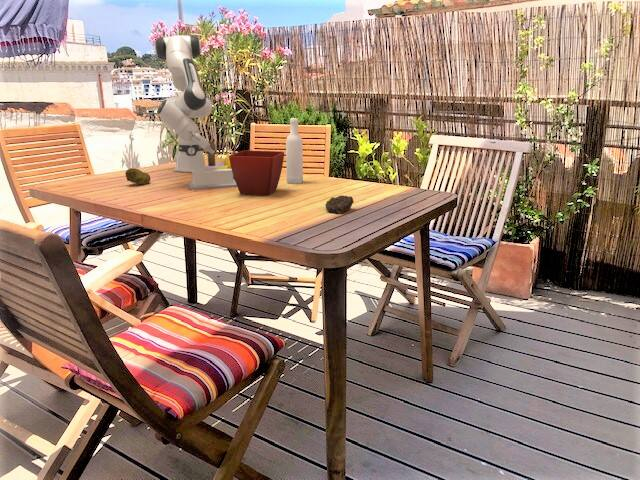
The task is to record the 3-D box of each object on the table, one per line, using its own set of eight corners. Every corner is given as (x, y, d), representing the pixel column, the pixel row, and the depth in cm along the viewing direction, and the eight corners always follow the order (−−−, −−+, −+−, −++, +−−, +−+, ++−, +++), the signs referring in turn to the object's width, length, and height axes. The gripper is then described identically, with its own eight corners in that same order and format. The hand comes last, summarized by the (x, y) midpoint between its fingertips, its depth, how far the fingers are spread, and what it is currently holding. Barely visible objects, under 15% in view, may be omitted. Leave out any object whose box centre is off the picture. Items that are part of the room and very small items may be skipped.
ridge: (187, 184, 247) (186, 169, 245) (233, 181, 254) (233, 167, 252) (190, 189, 234) (189, 174, 232) (239, 186, 241) (239, 171, 239)
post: (207, 165, 242) (206, 141, 239) (214, 165, 243) (213, 141, 240) (208, 166, 239) (207, 141, 236) (215, 166, 240) (214, 141, 237)
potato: (156, 183, 248) (155, 166, 246) (131, 187, 239) (129, 169, 237) (147, 181, 254) (146, 165, 251) (122, 185, 245) (120, 168, 242)
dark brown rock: (336, 206, 203) (336, 193, 202) (358, 209, 197) (358, 196, 196) (318, 211, 195) (318, 198, 193) (340, 215, 189) (340, 201, 187)
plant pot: (273, 197, 218) (272, 156, 213) (229, 195, 221) (227, 155, 217) (285, 189, 236) (285, 151, 231) (245, 187, 239) (243, 150, 235)
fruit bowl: (198, 179, 260) (196, 156, 257) (223, 171, 285) (222, 150, 282) (250, 182, 253) (249, 158, 249) (271, 173, 277) (271, 152, 274)
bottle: (302, 184, 248) (302, 118, 240) (285, 184, 248) (284, 118, 240) (303, 181, 256) (302, 117, 247) (287, 181, 256) (286, 117, 248)
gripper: (197, 127, 225) (221, 150, 231) (191, 124, 243) (213, 145, 249) (187, 138, 225) (211, 160, 230) (182, 134, 243) (204, 155, 249)
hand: (212, 152), depth 240 cm, fingers closed on post, 3 cm apart
